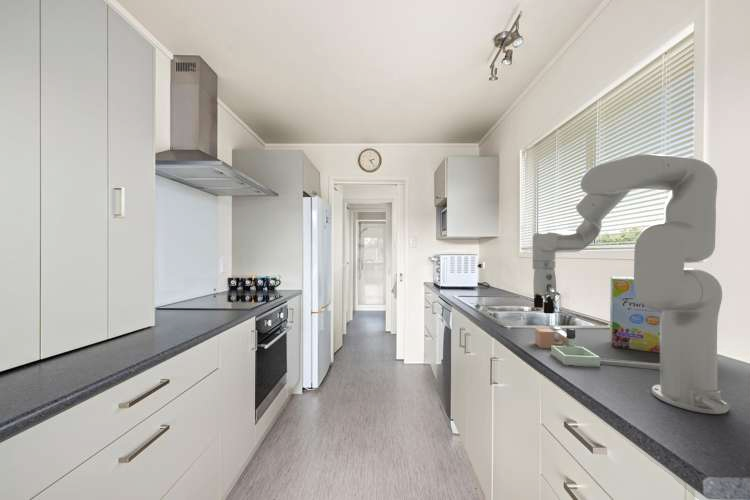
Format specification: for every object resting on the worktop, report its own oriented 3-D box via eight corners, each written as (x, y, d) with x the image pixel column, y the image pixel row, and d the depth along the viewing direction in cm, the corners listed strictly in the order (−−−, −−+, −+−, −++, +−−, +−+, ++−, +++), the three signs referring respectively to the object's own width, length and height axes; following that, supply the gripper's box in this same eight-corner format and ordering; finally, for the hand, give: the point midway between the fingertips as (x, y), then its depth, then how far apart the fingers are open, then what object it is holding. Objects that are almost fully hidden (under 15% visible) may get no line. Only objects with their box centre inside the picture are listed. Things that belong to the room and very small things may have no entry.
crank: (546, 337, 120) (546, 319, 120) (558, 337, 119) (558, 319, 119) (565, 350, 104) (565, 329, 104) (579, 351, 103) (579, 330, 103)
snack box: (611, 347, 111) (611, 277, 111) (609, 341, 118) (608, 275, 118) (695, 358, 99) (694, 280, 99) (686, 351, 106) (686, 278, 106)
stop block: (554, 348, 111) (554, 332, 111) (540, 347, 111) (540, 331, 111) (549, 344, 116) (549, 328, 116) (535, 343, 116) (535, 328, 116)
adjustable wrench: (593, 365, 96) (593, 359, 96) (588, 358, 102) (588, 353, 102) (699, 377, 86) (699, 371, 86) (687, 369, 92) (687, 363, 92)
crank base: (567, 345, 114) (567, 342, 114) (550, 344, 115) (550, 342, 115) (560, 340, 120) (560, 338, 120) (543, 340, 121) (543, 337, 121)
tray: (599, 366, 93) (599, 357, 93) (564, 365, 94) (564, 355, 94) (582, 355, 103) (582, 346, 103) (551, 354, 104) (551, 345, 104)
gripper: (565, 267, 105) (564, 316, 105) (545, 263, 122) (544, 305, 122) (542, 267, 106) (541, 315, 106) (525, 263, 123) (525, 305, 123)
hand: (543, 310), depth 114 cm, fingers open, 9 cm apart
